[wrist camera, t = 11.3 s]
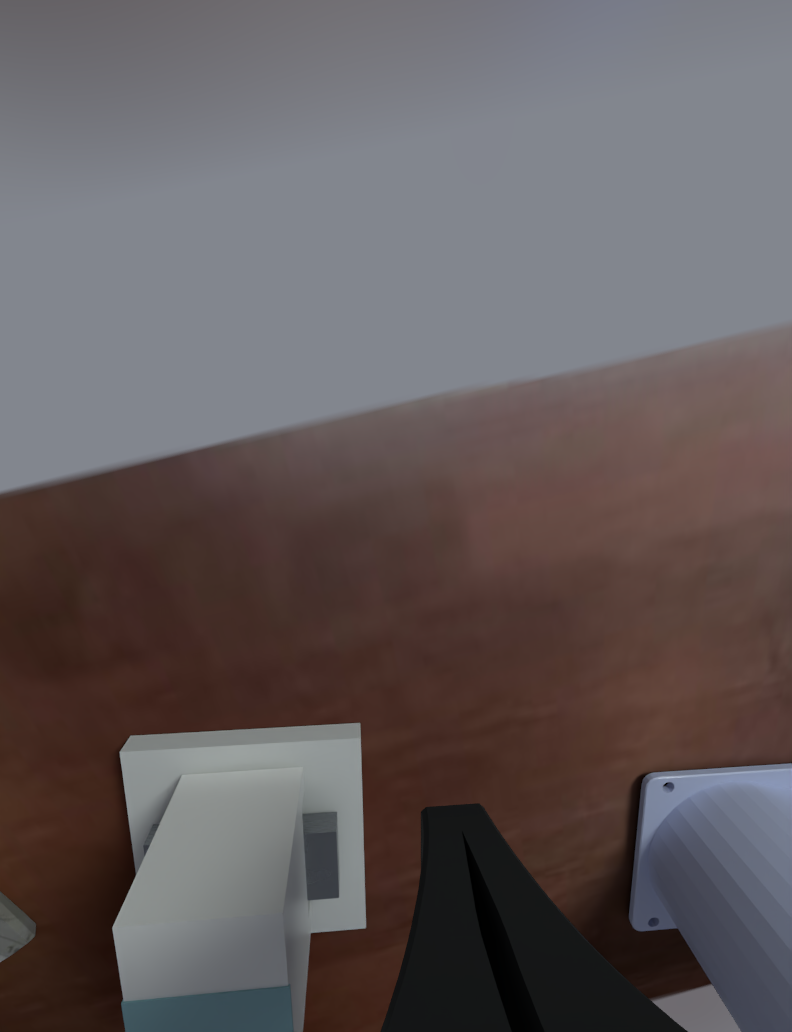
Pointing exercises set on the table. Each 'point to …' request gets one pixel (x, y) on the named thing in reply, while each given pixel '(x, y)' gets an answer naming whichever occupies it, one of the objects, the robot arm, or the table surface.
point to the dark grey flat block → (312, 854)
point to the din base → (316, 748)
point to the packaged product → (13, 928)
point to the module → (220, 910)
